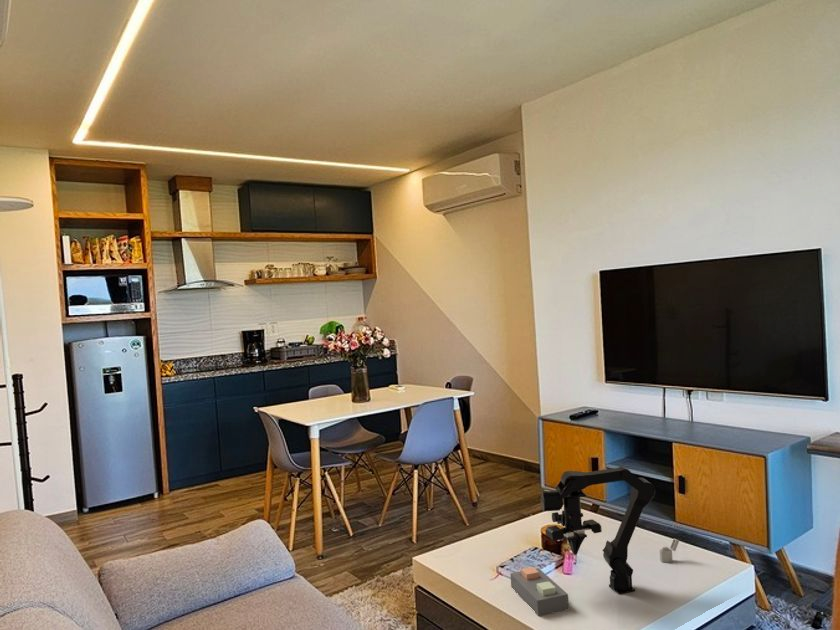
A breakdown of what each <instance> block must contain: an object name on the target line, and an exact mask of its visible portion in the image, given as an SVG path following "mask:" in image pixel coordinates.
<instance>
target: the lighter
mask: <svg viewBox="0 0 840 630" xmlns="http://www.w3.org/2000/svg"><path fill="white" fill-rule="evenodd" d="M679 543H680V541H679V539H676V538H673V539H672V542H671V545H670V547H668V546H663V547H662V549H661V548H660V549H659V561H660V562H661V563H672V562H674V561H673V552H676V550H677V548H678V545H679Z"/></svg>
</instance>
